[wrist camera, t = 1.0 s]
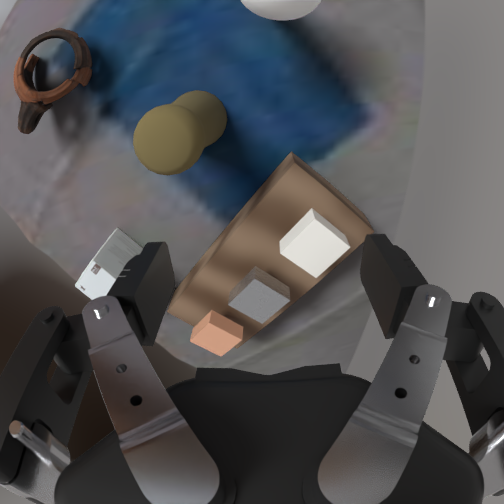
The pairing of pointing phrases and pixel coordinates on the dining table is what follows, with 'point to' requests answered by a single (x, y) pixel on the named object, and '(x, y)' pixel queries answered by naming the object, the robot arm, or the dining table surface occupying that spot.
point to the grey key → (259, 295)
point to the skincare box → (107, 264)
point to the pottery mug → (41, 101)
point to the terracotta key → (216, 333)
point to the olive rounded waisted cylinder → (179, 132)
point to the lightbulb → (281, 8)
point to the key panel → (266, 245)
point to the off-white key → (313, 243)
